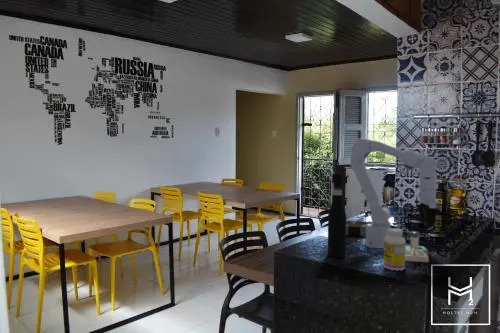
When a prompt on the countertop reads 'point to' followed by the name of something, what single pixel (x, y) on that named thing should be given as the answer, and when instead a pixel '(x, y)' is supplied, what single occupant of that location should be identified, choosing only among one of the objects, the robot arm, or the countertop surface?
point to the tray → (416, 257)
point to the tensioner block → (419, 249)
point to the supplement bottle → (394, 250)
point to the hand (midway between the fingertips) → (426, 224)
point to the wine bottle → (337, 221)
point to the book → (356, 228)
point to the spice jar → (414, 243)
